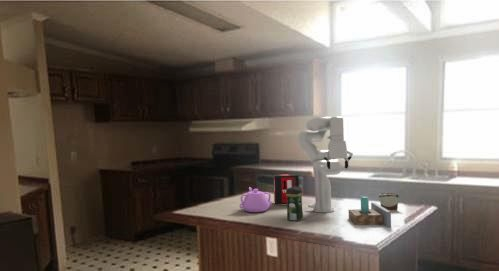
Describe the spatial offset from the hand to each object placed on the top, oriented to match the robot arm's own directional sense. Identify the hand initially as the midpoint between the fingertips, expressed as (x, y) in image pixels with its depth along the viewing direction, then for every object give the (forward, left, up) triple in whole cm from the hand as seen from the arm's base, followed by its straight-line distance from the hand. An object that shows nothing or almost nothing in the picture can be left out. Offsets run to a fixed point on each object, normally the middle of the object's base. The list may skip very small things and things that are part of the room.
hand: (337, 168), depth 195 cm
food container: (+35, +20, -28) cm, 49 cm away
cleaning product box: (-26, +45, -29) cm, 59 cm away
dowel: (+12, -9, -27) cm, 31 cm away
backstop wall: (+20, -9, -28) cm, 36 cm away
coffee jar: (-25, 0, -28) cm, 38 cm away
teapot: (-48, +27, -29) cm, 62 cm away
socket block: (+12, -9, -28) cm, 32 cm away
